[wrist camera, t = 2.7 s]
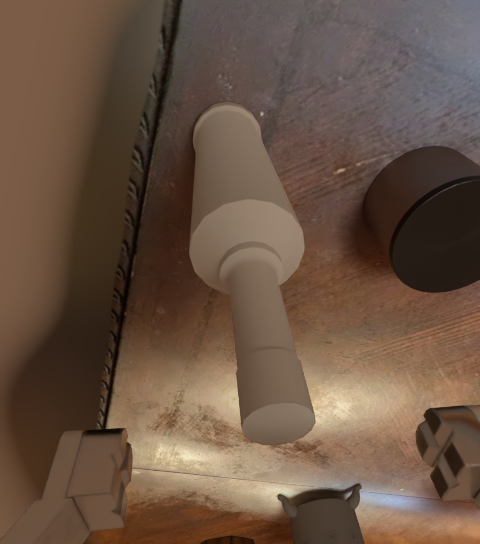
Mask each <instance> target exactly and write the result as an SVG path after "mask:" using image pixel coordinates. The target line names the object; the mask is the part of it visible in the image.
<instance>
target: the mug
mask: <svg viewBox="0 0 480 544" xmlns="http://www.w3.org/2000/svg"><path fill="white" fill-rule="evenodd" d="M202 544H255V543H254V541H253V539H247V538H241V537H235V536H228V537H222V538H216V539H211V540H206V541H204V542H203V543H202Z"/></svg>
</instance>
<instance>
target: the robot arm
mask: <svg viewBox="0 0 480 544" xmlns="http://www.w3.org/2000/svg"><path fill="white" fill-rule="evenodd" d="M423 416H424V418H425V421H424V422H422V423H421V424H419V425H418V428H417V430H416V444H417V448H418V451H419V453H420V455H421V457H422V459H423V460H424V461H425V462H426V463H427V464H428V465H430V466H431V473H430V477H431V479H432V481H433V483H434V485H435V488H436V490H437V492H438V494H439V496H440V498H441V500H442V501H454V500H473V499H474V500H473V502H474V503H475V504H476V505H477V506H478V507H479V508H480V405H468V406H451V407H439V408H430V409H428V410H426V412H425V414H424V415H423ZM127 438H128V433H127V430H126V428H114V429H98V430H78V431H66V432H64V433H63V435H62V437H61V439H60V442H59V445H58V448H57V451H56V455H55V458H54V461H53V464H52V467H51V471H50V474H49V477H48V480H47V484H46V487H45V490H44V494H43V497H42V500H36V501H35V502H34V503H33V504H32V505H31V506H30V507H29V508H28V509H27V510H26V511H25V512H24V514H23V515H22V516H21V517H20V518H19V519H18V520H17V521H16V522H15V524H14V525H13V526H12V527H11V528H10V529H9V530H8V531H7V532H6V534H5V535H4V536H3V537H2V538H1V539H0V544H83V543H84V541H85V540H86V538H87V537H88V535H89V534H90V532H89V531H95V530H104V529H113V528H122V527H124V525H125V518H126V511H127V504H128V496H127V493H126V490H125V487H126V486H127V485H128V484H129V482H130V481H131V475H132V462H133V455H132V448H131V444H129V443H128V442H127Z"/></svg>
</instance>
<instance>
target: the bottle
mask: <svg viewBox="0 0 480 544" xmlns="http://www.w3.org/2000/svg"><path fill="white" fill-rule="evenodd" d="M193 145H194V149H195V153H196V158H195V173H194V188H193V203H192V218H191V233H190V249H189V256H190V259H191V262H192V265H193V268H194V271H195V273H196V274H197V275H198V276H199V277H200V278H201V279H202V280H203V281H204V282H205V283H206V284H207V285H208V286H209V287H212V288H214V289H216V290H218V291H220V292H223V293H225V294H230V302H231V311H232V320H233V330H234V339H235V349H236V358H237V367H238V369H237V372H236V375H237V386H238V396H239V406H240V416H241V427H242V431H243V433H244V436H245V437H247V438H248V439H249V440H251V441H252V442H255V443H259V444H262V445H280V444H286V443H291V442H293V441H295V440H298V439H300V438H302V437H304V436H305V435H306V434H307V433H309V432H310V431H311V430H312V428H313V426H314V424H315V423H316V422H315V414H314V411H313V407H312V403H311V399H310V396H309V392H308V388H307V384H306V381H305V377H304V373H303V369H302V366H301V362H300V360H299V359H298V357H297V354H296V350H295V346H294V342H293V338H292V334H291V330H290V326H289V323H288V319H287V315H286V311H285V307H284V303H283V299H282V295H281V291H280V288H279V285H281V284H282V283H284V282H286V280H287V279H288V278H289V277H290V276H291V275H292V274H293V273H294V272H295V270H296V269H297V268H298V267H299V264H300V261H301V258H302V256H303V253H304V250H305V248H304V239H303V230H302V228H301V226H300V224H299V222H298V219H297V217H296V215H295V213H294V211H293V208H292V206H291V204H290V202H289V200H288V197H287V195H286V193H285V191H284V189H283V186H282V184H281V182H280V180H279V178H278V176H277V173H276V171H275V169H274V167H273V165H272V162H271V160H270V158H269V156H268V154H267V151H266V149H265V147H264V145H263V143H262V138H261V131H260V126H259V124H258V123H257V121H256V120H255V118H254V116H253V115H252V113H251V112H250V111H248V110H247V109H245V108H244V107H243V106H241V105H240V104H236V103H231V102H222V103H217V104H213V105H212V106H210V107H209V108H208V109H206V110H205V111H204V112H202V114H201V115H200V117H199V119H198V121H197V122H196V124H195V128H194V135H193Z"/></svg>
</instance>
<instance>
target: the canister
mask: <svg viewBox="0 0 480 544" xmlns="http://www.w3.org/2000/svg"><path fill="white" fill-rule="evenodd" d="M363 215H364V221H365V225H366V227H367V229H368V231H369V233H370V234H371V236H372V237H373V238H374V240H375V241H376V243H377V244H378V246H379V247H380V249H381V250H382V252H383V253H384V255H385V256H386V258H387V259H388V261H389V262H390V264H391V267H392V268H393V270H394V272H395V274H396V275H397V277H398V278H399V279H400V280H401V281H402V282H403V283H404V284H405V285H407V286H409V287H410V288H413V289H415V290H418V291H422V292H430V293H438V292H447V291H452V290H456V289H459V288H462V287H465V286H468V285H470V284H472V283H474V282H476V281H478V280H480V166H479V165H478V164H476V163H475V162H473V161H472V160H470V159H469V158H467V157H466V156H464V155H463V154H461V153H460V152H458V151H456V150H454V149H451V148H448V147H443V146H429V147H423V148H419V149H416V150H413V151H410V152H408V153H406V154H404V155H402V156H400V157H399V158H397V159H396V160H394V161H393V162H391V163H390V164H389V165H388V166H387V167H386V168H384V169H383V170H382V172H381V173H380V174H379V175H378V176H377V177H376V179H375V180H374V182H373V183H372V185H371V187H370V188H369V191H368V193H367V195H366V199H365V202H364V208H363Z"/></svg>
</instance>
